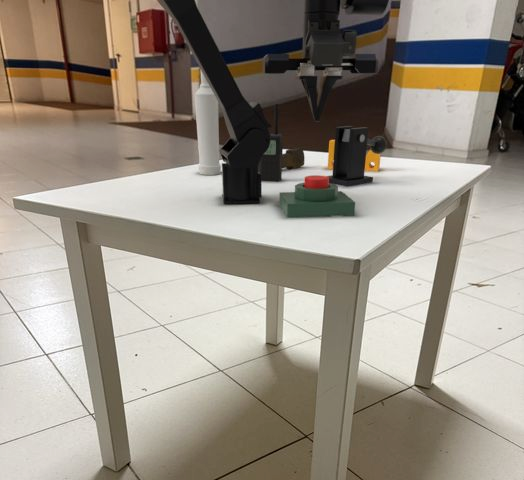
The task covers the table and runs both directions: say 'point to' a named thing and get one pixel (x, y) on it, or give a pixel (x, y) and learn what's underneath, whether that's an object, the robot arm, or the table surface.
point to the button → (316, 182)
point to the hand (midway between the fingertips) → (316, 121)
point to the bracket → (350, 158)
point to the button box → (316, 202)
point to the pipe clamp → (369, 158)
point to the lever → (369, 142)
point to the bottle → (207, 129)
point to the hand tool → (292, 158)
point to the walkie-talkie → (272, 155)
